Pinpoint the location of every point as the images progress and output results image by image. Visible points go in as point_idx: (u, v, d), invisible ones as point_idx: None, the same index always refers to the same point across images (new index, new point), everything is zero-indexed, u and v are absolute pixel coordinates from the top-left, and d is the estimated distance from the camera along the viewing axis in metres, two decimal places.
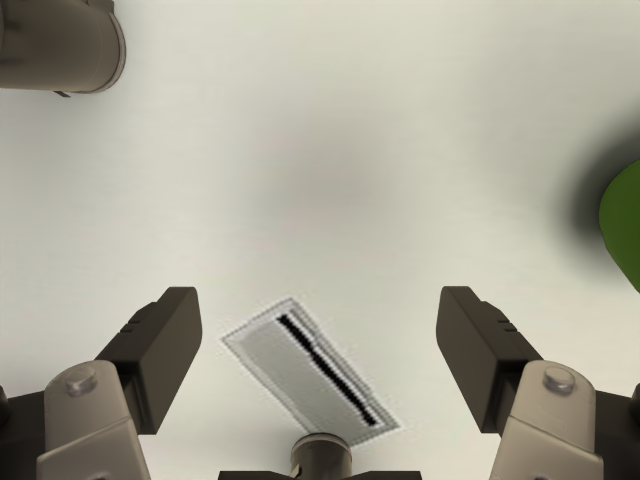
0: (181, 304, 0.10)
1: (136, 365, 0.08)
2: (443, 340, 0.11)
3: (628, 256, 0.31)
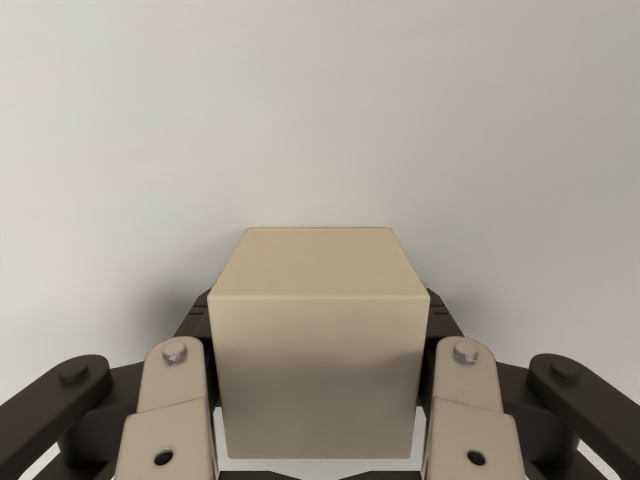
0: None
1: None
2: None
3: None
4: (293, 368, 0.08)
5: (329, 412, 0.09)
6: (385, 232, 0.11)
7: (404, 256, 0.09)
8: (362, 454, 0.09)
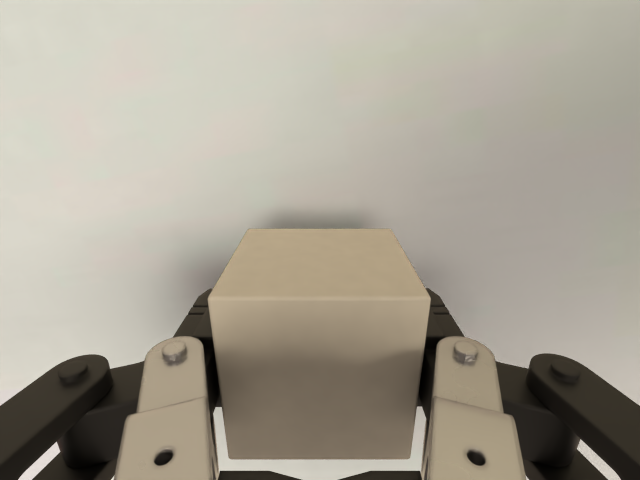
0: None
1: None
2: None
3: None
4: (293, 369, 0.08)
5: (329, 414, 0.09)
6: (385, 233, 0.11)
7: (404, 257, 0.09)
8: (362, 455, 0.09)
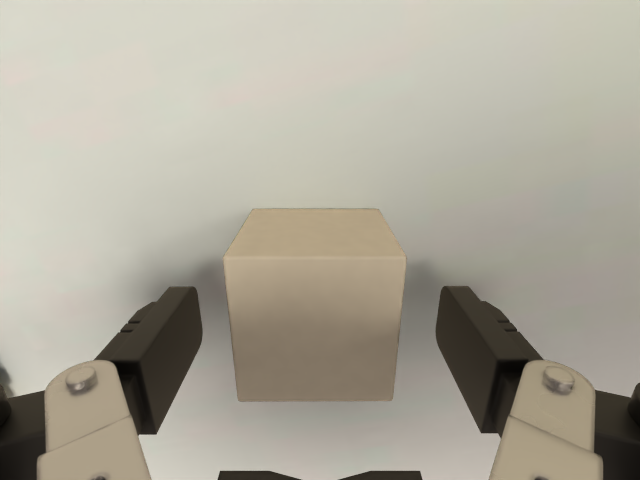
0: (181, 304, 0.10)
1: (136, 365, 0.08)
2: (443, 340, 0.11)
3: None
4: (293, 319, 0.10)
5: (324, 359, 0.10)
6: (373, 212, 0.13)
7: (388, 229, 0.11)
8: (352, 397, 0.11)
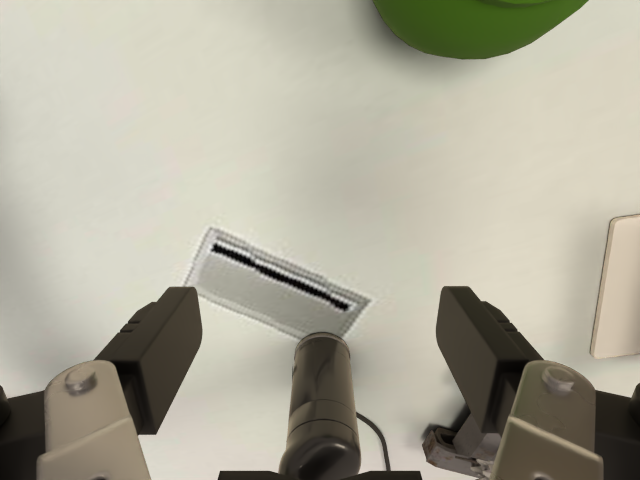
0: (181, 304, 0.10)
1: (136, 365, 0.08)
2: (443, 340, 0.11)
3: (389, 26, 0.33)
4: None
5: None
6: None
7: None
8: None
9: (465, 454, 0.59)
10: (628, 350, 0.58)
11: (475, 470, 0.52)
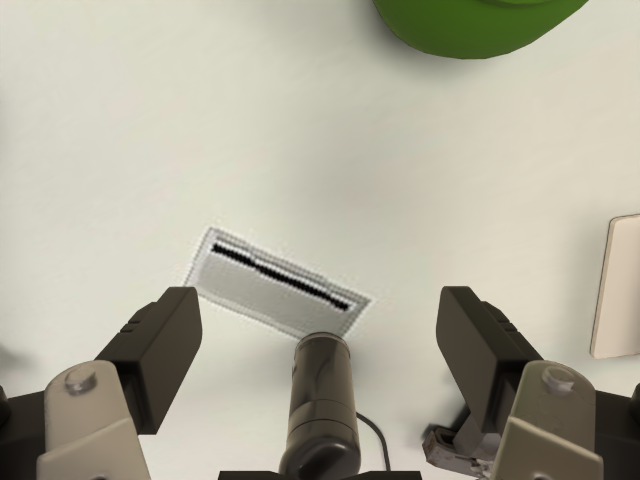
0: (181, 304, 0.10)
1: (136, 365, 0.08)
2: (443, 340, 0.11)
3: (389, 26, 0.33)
4: None
5: None
6: None
7: None
8: None
9: (465, 454, 0.59)
10: (628, 350, 0.58)
11: (475, 470, 0.52)
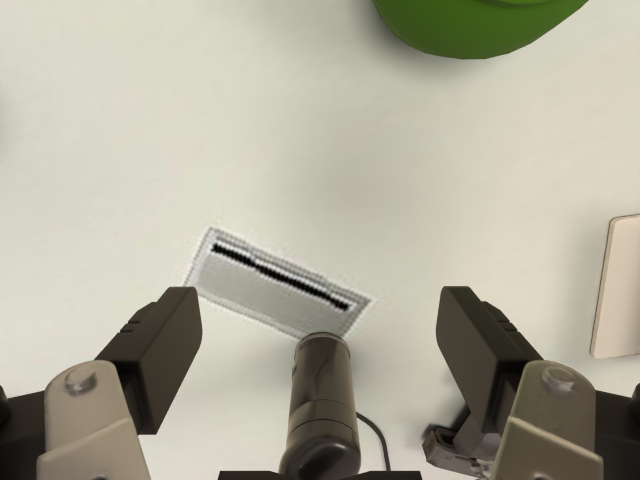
0: (181, 304, 0.10)
1: (136, 365, 0.08)
2: (443, 340, 0.11)
3: (389, 26, 0.33)
4: None
5: None
6: None
7: None
8: None
9: (465, 454, 0.59)
10: (628, 350, 0.58)
11: (475, 470, 0.52)
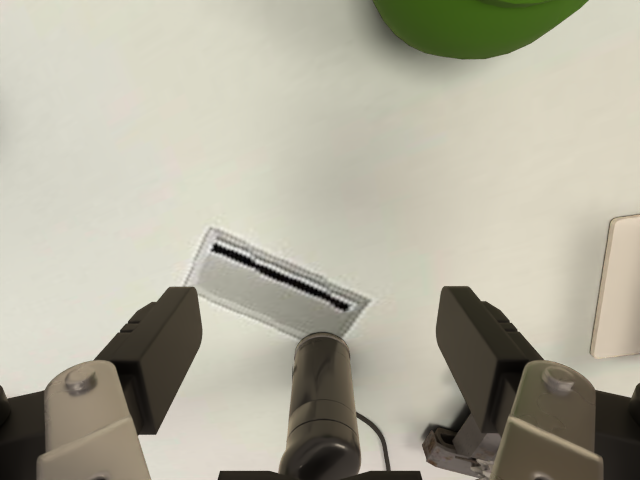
0: (181, 304, 0.10)
1: (136, 365, 0.08)
2: (443, 340, 0.11)
3: (389, 26, 0.33)
4: None
5: None
6: None
7: None
8: None
9: (465, 454, 0.59)
10: (628, 350, 0.58)
11: (475, 470, 0.52)
